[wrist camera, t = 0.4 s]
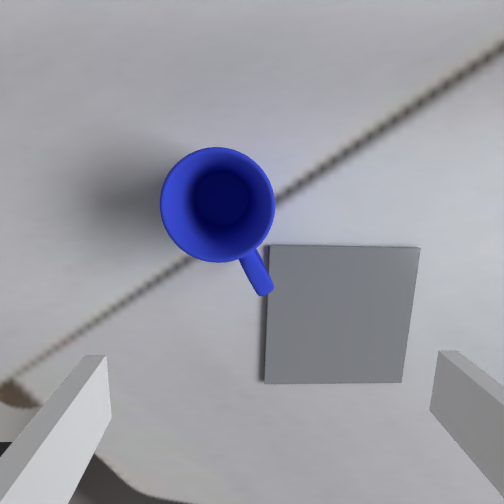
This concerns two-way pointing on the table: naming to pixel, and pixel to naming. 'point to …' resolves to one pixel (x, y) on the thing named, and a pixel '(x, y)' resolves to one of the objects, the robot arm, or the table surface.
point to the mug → (220, 210)
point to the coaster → (338, 313)
